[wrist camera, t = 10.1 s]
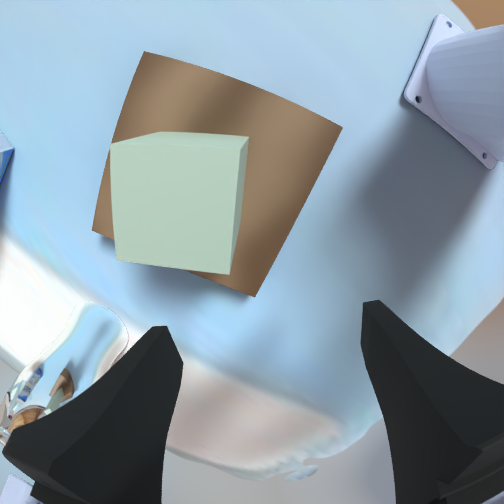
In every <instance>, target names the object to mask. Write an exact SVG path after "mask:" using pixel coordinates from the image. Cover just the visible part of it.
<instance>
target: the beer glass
mask: <svg viewBox="0 0 504 504" xmlns="http://www.w3.org/2000/svg"><path fill="white" fill-rule="evenodd" d="M127 342H128V333H127V329H126V327H125V325H124V324H123V322H122V321H121V319H120V318H119V317H118V316H117V315H116V314H115V313H114V312H113V311H112V310H110V309H109V308H107V307H106V306H104V305H102V304H99V303H96V302H92V301H84V302H81V303H79V304H77V305H76V306H75V307H74V309H73V311H72V313H71V315H70V317H69V319H68V321H67V324H66V325H65V327H64V329H63V330H62V332H61V333H60V334H59V336H58V337H57V338H56V339H55V340H54V341H53V342H52V343H51V344H50V345H49V346H48V347H46V348H45V349H44V350H43V351H42V352H41V353H40V354H39V355H38V356H37V357H35V358H34V359H33V360H32V361H31V362H30V363H29V364H28V365H27V366H26V367H25V369H24V370H23V371H22V372H21V373H20V374H19V376H18V377H17V378H16V380H15V381H14V382H13V384H12V385H11V387H10V389H9V391H8V392H7V394H6V395H5V397H4V399H3V401H2V403H1V405H0V443H1V444H2V445H3V446H4V447H5V445H6V443H7V441H8V439H9V437H10V435H11V433H12V431H13V429H15V428H18V427H20V426H23V425H25V424H28V423H30V422H33V421H35V420H37V419H40V418H42V417H44V416H46V415H48V414H49V413H51V412H53V411H55V410H57V409H58V408H60V407H62V406H63V405H65V404H66V403H68V402H69V401H71V400H72V399H74V398H75V397H77V396H78V395H80V394H81V393H82V392H84V391H85V390H86V389H87V388H89V387H90V386H91V385H92V384H94V383H95V382H96V381H97V380H98V379H100V378H101V377H102V376H103V375H104V374H105V373H106V372H107V371H108V370H109V369H110V367H111V365H112V363H113V361H114V360H115V359H116V357H117V356H118V355H119V354H120V353H121V351H122V350H123V349H124V348H125V347H126V345H127Z"/></svg>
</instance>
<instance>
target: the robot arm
mask: <svg viewBox="0 0 504 504" xmlns="http://www.w3.org/2000/svg"><path fill="white" fill-rule="evenodd" d="M446 23H447V24H448V25H449V27H448V26H447V25H446ZM416 96H418V98H419V102H418V103H417V102H416V100H415V97H416ZM404 97H405V99H406V100H407V101H408V102H409V103H411V104H412V105H413V106H415V107H416V108H418V109H419V110H420V111H422V112H423V113H424V114H426V115H427V116H428V117H430V118H431V119H432V120H433V121H435V122H436V123H437V124H439V125H440V126H441V127H442V128H443V129H445V130H446V131H447V132H448V133H450V134H451V135H452V136H453V137H454V138H455V139H457V140H458V141H459V142H460V143H461V144H462V145H463V146H465V147H466V148H467V149H468V150H469V151H470V152H471V153H472V154H473V155H474V156H475V157H477V158H478V159H479V160H480V161H481V162H482V163H483V164H484V165H485V166H486V167H487V168H489V169H493V168H494V167H495V165H496V163H497V160H499V161H502V162H504V24H503V25H498V26H493V27H488V28H483V29H479V30H475V31H471V32H467V33H465V32H464V31H463V30H461V29H460V28H459V27H458V26H457V25H456V24H454V23H453V22H452V21H451V20H450V19H448V18H447V17H446V16H444V15H443V14H439V15H437V16H436V17H435V19H434V22H433V25H432V27H431V30H430V32H429V35H428V37H427V40H426V42H425V45H424V47H423V49H422V52H421V54H420V57H419V59H418V61H417V64H416V66H415V68H414V70H413V73H412V75H411V77H410V79H409V82H408V84H407V86H406V88H405V91H404ZM483 153H484V157H482V155H483ZM361 348H362V352H363V357H364V361H365V365H366V369H367V371H368V374H369V377H370V380H371V383H372V385H373V388H374V391H375V394H376V397H377V399H378V402H379V405H380V408H381V411H382V414H383V417H384V421H385V425H386V429H387V434H388V440H389V444H390V451H391V457H392V464H393V471H394V482H395V493H396V504H504V385H503V384H501V383H498V382H496V381H493V380H491V379H489V378H486V377H484V376H482V375H480V374H478V373H476V372H474V371H472V370H470V369H468V368H466V367H465V366H463V365H461V364H460V363H458V362H456V361H455V360H453V359H451V358H450V357H448V356H447V355H445V354H444V353H442V352H441V351H439V350H438V349H437V348H435V347H434V346H433V345H431V344H430V343H429V342H427V341H426V340H425V339H423V338H422V337H421V336H420V335H418V334H417V333H416V332H415V331H414V330H413V329H411V328H410V327H409V326H408V325H407V324H406V323H404V322H403V321H402V320H401V319H400V318H399V317H398V316H397V315H395V314H394V313H393V312H392V311H391V310H390V309H389V308H388V307H387V306H386V305H384V304H383V303H382V302H381V301H380V300H375V301H370V302H364V303H363V314H362V331H361ZM182 370H183V361H182V359H181V357H180V354H179V352H178V350H177V348H176V346H175V343H174V341H173V339H172V337H171V334H170V332H169V330H168V327H167V326H154V327H152V328H151V329H149V330H148V331H147V332H146V333H145V334H144V335H143V336H142V337H141V338H140V339H139V340H138V341H137V342H136V343H135V344H134V345H133V346H132V347H131V348H130V350H129V351H128V352H127V353H126V354H125V355H124V356H123V357H122V358H121V359H120V360H119V361H118V362H117V363H116V364H114V365H113V366H112V367H111V368H110V369H109V370H108V371H107V372H106V373H105V374H104V375H103V376H102V377H101V378H100V379H98V380H97V381H96V382H95V383H94V384H92V385H91V386H90V387H89V388H87V389H86V390H85V391H84V392H82V393H81V394H80V395H78V396H77V397H75V398H74V399H72V400H71V401H69V402H68V403H66V404H65V405H63V406H62V407H60V408H58V409H57V410H55V411H53V412H51V413H49V414H48V415H46V416H44V417H42V418H40V419H37V420H35V421H33V422H30V423H28V424H25V425H23V426H20V427H18V428H15V429H13V431H12V433H11V435H10V437H9V439H8V441H7V443H6V445H5V447H4V449H3V451H2V453H3V455H4V457H5V458H6V459H7V460H8V461H9V462H11V463H12V464H13V465H14V466H16V467H17V468H18V469H19V470H21V471H22V472H23V473H25V474H26V475H27V476H29V477H30V478H31V479H33V480H34V481H35V483H34V485H33V486H32V485H31V484H29V483H28V482H26V481H24V480H22V479H20V478H19V477H17V476H15V475H14V474H10V475H9V477H8V479H7V482H6V484H5V486H4V489H3V491H2V494H1V496H0V504H162V503H161V496H162V493H161V492H162V473H163V461H164V453H165V445H166V439H167V434H168V430H169V426H170V423H171V419H172V415H173V412H174V408H175V404H176V401H177V397H178V393H179V389H180V385H181V378H182Z"/></svg>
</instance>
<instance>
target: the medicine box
mask: <svg viewBox="0 0 504 504" xmlns="http://www.w3.org/2000/svg"><path fill="white" fill-rule="evenodd" d="M13 150H14V147H13V146H12V144H11V143H10V142H9V140H8V139H7V138H6V136H5V135H4V134H3V133H2V131H1V130H0V183H1V180H2V178H3V175H4V172H5V170H6V167H7V165H8V162H9V160H10V157H11V155H12V152H13Z"/></svg>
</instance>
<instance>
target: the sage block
mask: <svg viewBox="0 0 504 504" xmlns="http://www.w3.org/2000/svg"><path fill="white" fill-rule="evenodd" d="M248 143H249V137H246V136H235V135H223V134H209V133H190V132H156V133H152V134H148V135H144V136H139V137H135V138H131V139H128V140H124V141H120V142H116V143H113V144H110V174H111V200H112V217H113V229H114V240H115V250H116V259H117V261H125V262H132V263H139V264H147V265H154V266H162V267H170V268H178V269H186V270H194V271H202V272H210V273H219V274H227V275H229V274H230V269H231V265H232V260H233V255H234V250H235V246H236V241H237V236H238V232H239V227H240V222H241V212H242V202H243V192H244V182H245V172H246V162H247V153H248Z"/></svg>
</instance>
